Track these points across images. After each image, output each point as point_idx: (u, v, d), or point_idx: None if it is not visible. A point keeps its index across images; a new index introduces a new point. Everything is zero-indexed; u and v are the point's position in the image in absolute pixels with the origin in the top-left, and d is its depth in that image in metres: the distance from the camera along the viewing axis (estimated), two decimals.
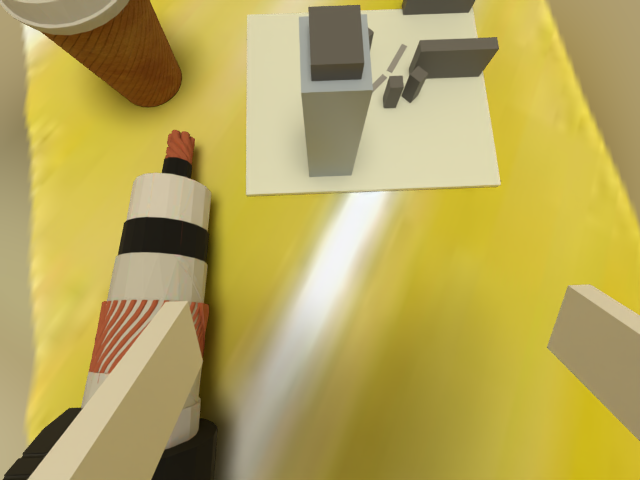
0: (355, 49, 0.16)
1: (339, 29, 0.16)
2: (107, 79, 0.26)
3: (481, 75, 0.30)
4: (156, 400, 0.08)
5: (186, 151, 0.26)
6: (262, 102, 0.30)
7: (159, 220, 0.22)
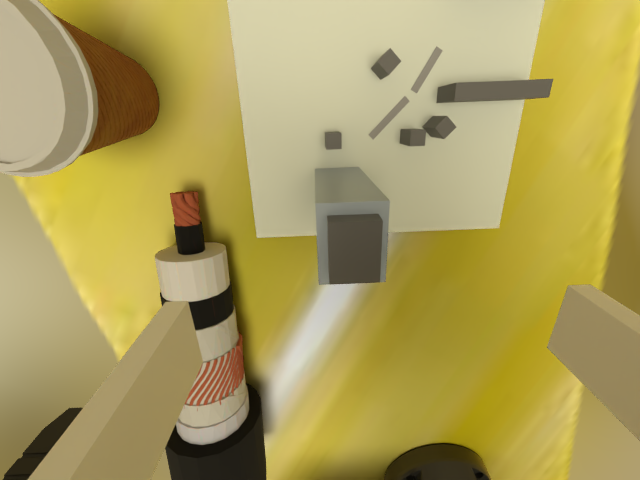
0: (373, 269, 0.16)
1: (358, 248, 0.16)
2: None
3: None
4: (156, 400, 0.08)
5: (194, 214, 0.26)
6: (261, 135, 0.26)
7: (193, 304, 0.26)
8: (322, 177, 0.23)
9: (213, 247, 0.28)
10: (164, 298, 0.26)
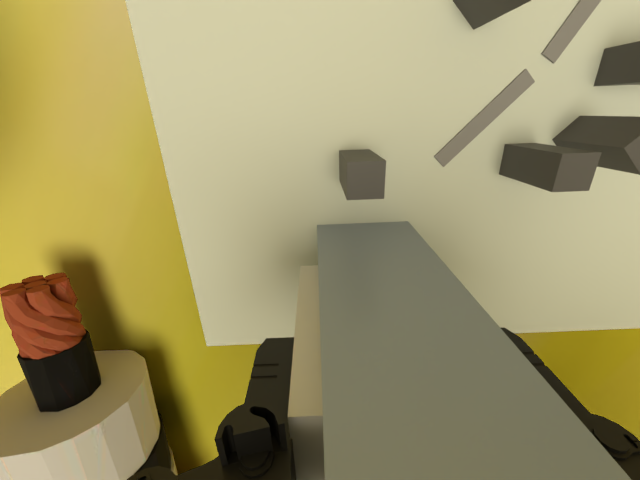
0: None
1: None
2: None
3: None
4: None
5: (58, 330, 0.12)
6: (201, 157, 0.12)
7: None
8: (337, 276, 0.09)
9: (121, 374, 0.14)
10: None
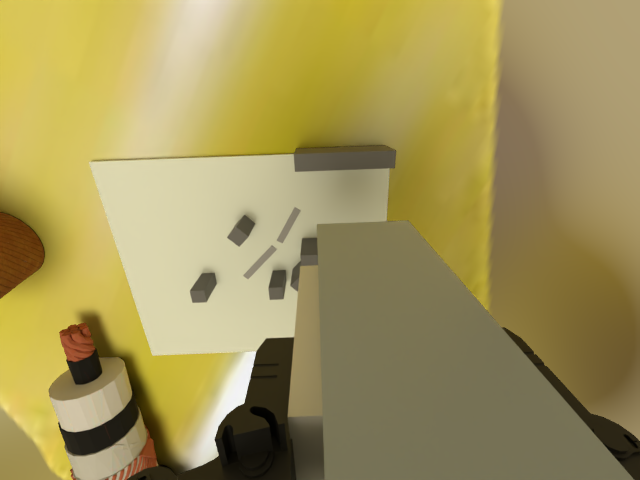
0: None
1: None
2: None
3: None
4: None
5: (84, 349, 0.28)
6: (143, 276, 0.28)
7: (85, 433, 0.28)
8: (337, 275, 0.09)
9: (111, 368, 0.31)
10: (60, 425, 0.28)
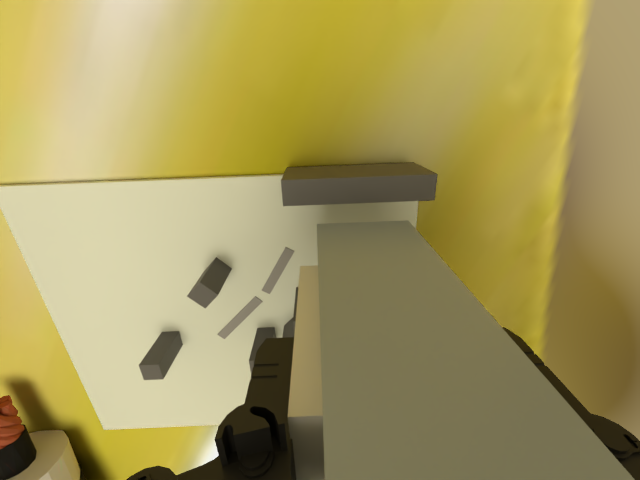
0: None
1: None
2: None
3: None
4: None
5: (4, 434, 0.21)
6: (83, 335, 0.21)
7: None
8: (337, 275, 0.09)
9: (49, 450, 0.23)
10: None
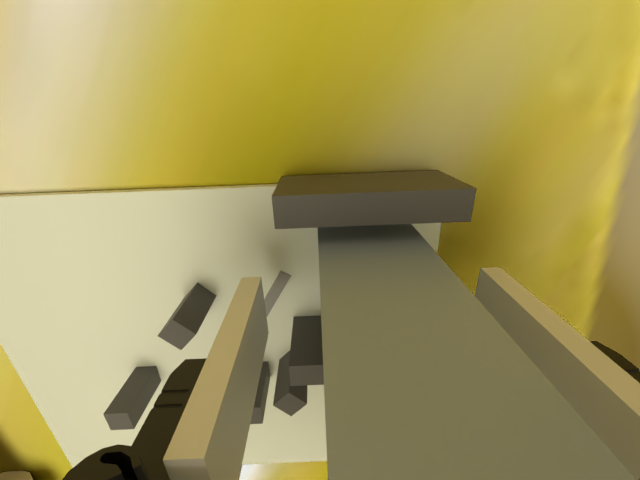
0: None
1: None
2: None
3: None
4: (251, 356, 0.09)
5: None
6: (43, 371, 0.18)
7: None
8: (336, 258, 0.10)
9: None
10: None
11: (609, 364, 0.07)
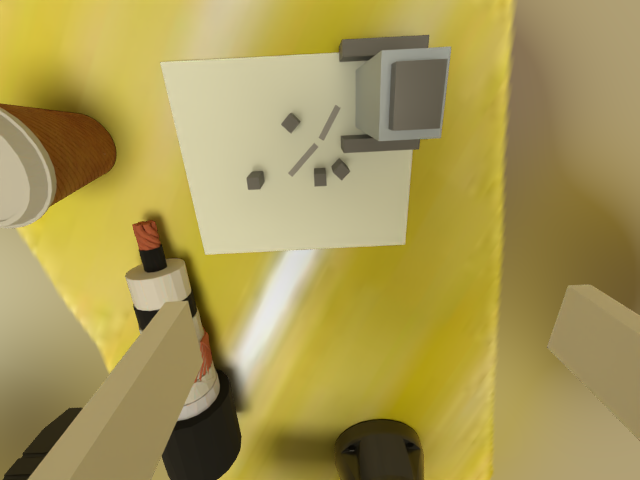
0: (434, 113, 0.18)
1: (423, 90, 0.17)
2: None
3: None
4: (156, 400, 0.08)
5: (153, 240, 0.32)
6: (201, 174, 0.32)
7: None
8: None
9: (174, 263, 0.35)
10: (135, 308, 0.33)
11: None
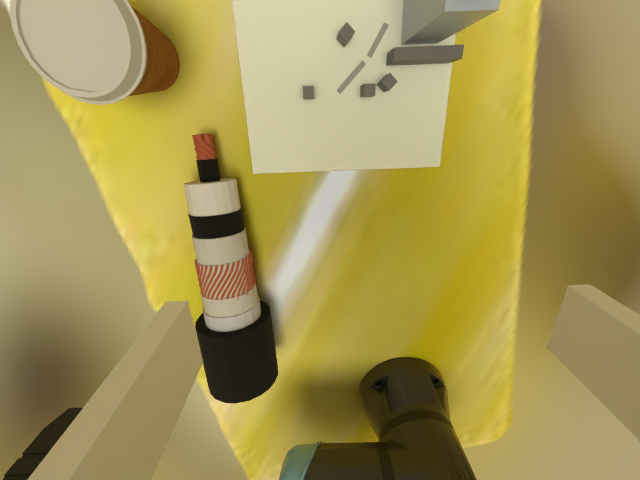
0: None
1: None
2: None
3: (450, 61, 0.34)
4: (156, 400, 0.08)
5: (211, 150, 0.35)
6: (256, 90, 0.35)
7: (214, 217, 0.35)
8: None
9: (226, 179, 0.37)
10: (192, 215, 0.35)
11: None
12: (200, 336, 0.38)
